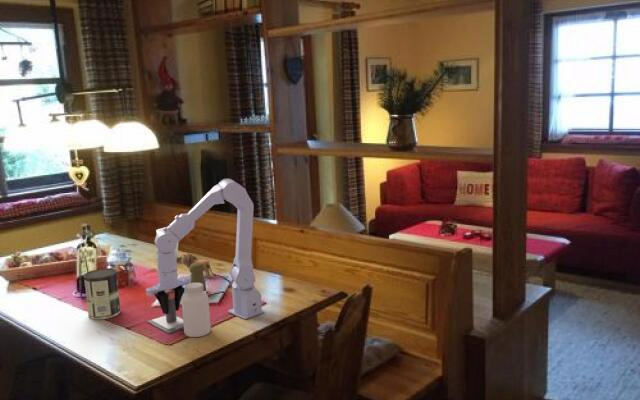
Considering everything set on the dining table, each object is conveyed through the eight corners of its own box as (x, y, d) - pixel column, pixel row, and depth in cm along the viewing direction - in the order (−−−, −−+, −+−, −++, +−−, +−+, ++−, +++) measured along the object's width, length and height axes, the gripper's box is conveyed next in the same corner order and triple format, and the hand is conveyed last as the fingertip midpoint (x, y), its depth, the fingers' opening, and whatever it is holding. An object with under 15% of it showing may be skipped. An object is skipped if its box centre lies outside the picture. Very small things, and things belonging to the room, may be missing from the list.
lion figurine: (179, 276, 226) (178, 254, 224) (186, 272, 231) (184, 250, 229) (213, 279, 222) (212, 257, 220) (219, 275, 227) (218, 253, 225)
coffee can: (113, 305, 197) (109, 266, 195) (125, 313, 190) (121, 273, 187) (83, 313, 191) (78, 273, 188) (94, 322, 183) (90, 280, 180)
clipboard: (194, 324, 179) (194, 320, 179) (168, 333, 173) (168, 329, 173) (172, 313, 189) (172, 310, 188) (147, 322, 182) (147, 318, 182)
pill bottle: (199, 324, 180) (196, 279, 177) (216, 331, 174) (213, 284, 172) (178, 333, 174) (174, 286, 171) (195, 340, 168) (192, 291, 166)
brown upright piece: (209, 289, 210) (207, 261, 208) (204, 295, 204) (202, 266, 202) (193, 289, 211) (190, 260, 209) (187, 295, 205) (185, 266, 203)
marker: (179, 320, 180) (176, 291, 179) (169, 323, 178) (167, 294, 176) (173, 317, 183) (171, 288, 181) (163, 320, 180) (161, 291, 179)
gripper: (181, 262, 185) (184, 301, 188) (139, 273, 175) (143, 314, 178) (193, 266, 180) (196, 307, 183) (151, 278, 170) (154, 321, 173)
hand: (170, 311), depth 180 cm, fingers closed on marker, 3 cm apart
